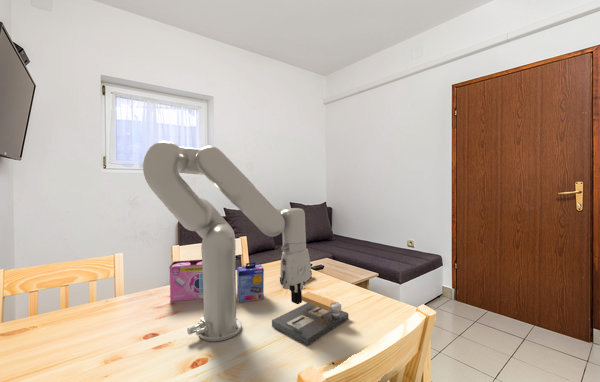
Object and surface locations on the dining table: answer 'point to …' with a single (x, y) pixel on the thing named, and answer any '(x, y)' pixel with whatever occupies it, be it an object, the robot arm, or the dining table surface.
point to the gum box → (186, 280)
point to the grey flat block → (308, 323)
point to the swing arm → (321, 302)
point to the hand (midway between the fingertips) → (296, 302)
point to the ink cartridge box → (250, 282)
